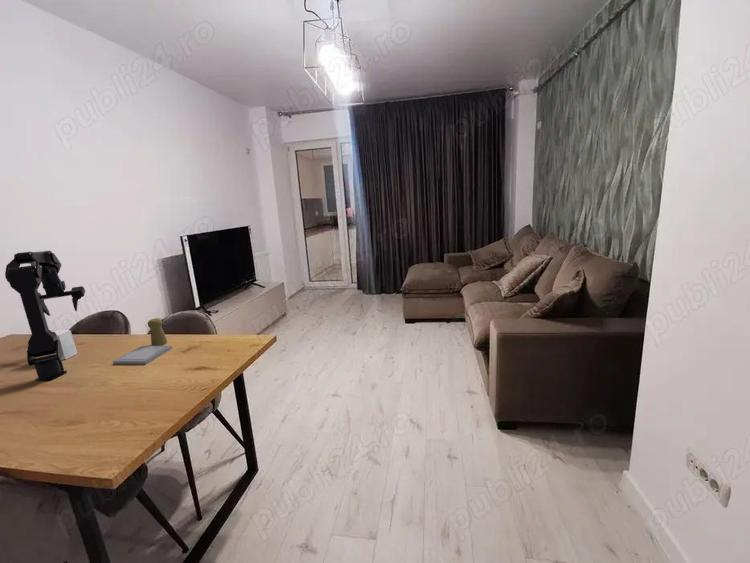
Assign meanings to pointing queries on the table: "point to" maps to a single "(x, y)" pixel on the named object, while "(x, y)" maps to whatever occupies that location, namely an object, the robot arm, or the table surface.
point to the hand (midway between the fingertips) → (63, 313)
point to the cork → (157, 332)
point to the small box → (66, 344)
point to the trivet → (142, 355)
